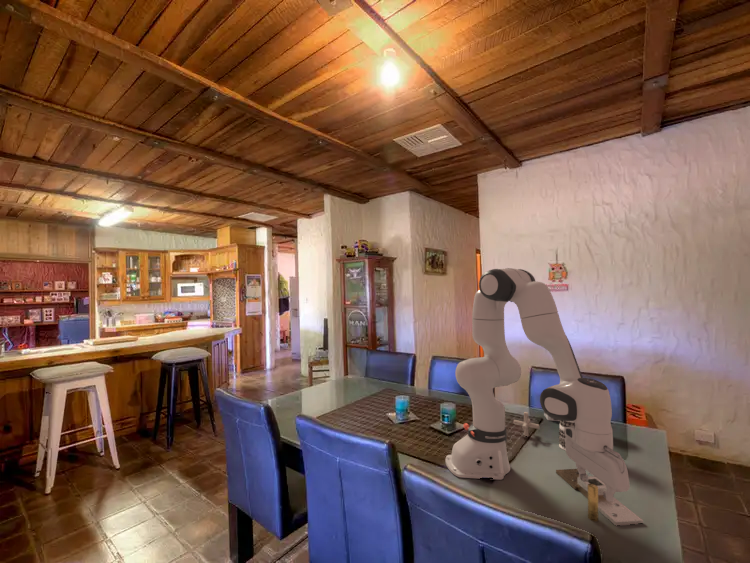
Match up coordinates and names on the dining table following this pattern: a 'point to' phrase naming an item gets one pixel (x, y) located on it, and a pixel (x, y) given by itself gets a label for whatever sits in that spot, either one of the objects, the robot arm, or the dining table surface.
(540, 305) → the robot arm
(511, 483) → the dining table surface
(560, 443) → the decorative candle
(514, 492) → the dining table surface
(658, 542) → the dining table surface
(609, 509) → the hinge
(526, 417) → the pipe connector
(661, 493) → the dining table surface
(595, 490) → the brass pin
